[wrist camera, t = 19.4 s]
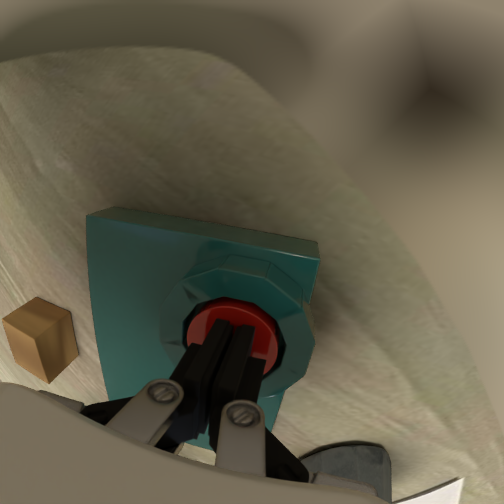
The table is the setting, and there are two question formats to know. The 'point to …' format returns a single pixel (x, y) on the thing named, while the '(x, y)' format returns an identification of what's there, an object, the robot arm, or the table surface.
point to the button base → (192, 295)
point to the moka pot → (356, 466)
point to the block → (41, 338)
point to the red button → (238, 315)
